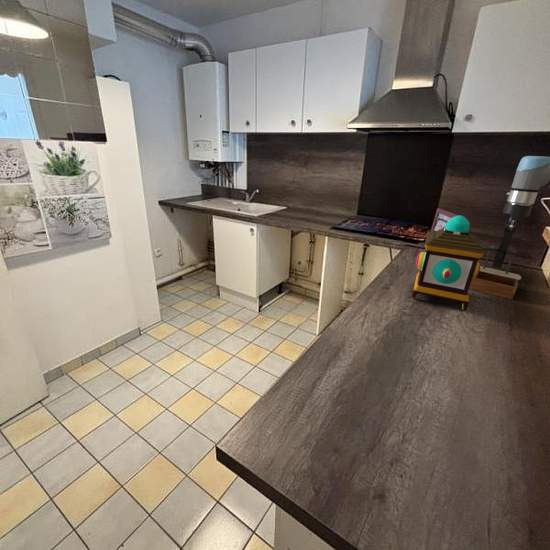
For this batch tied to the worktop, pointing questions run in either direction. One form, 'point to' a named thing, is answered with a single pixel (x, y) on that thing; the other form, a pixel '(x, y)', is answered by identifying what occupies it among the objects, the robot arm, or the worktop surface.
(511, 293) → the open wooden box
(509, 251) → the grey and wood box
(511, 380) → the worktop surface
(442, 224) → the picture frame
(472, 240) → the decorative lantern
